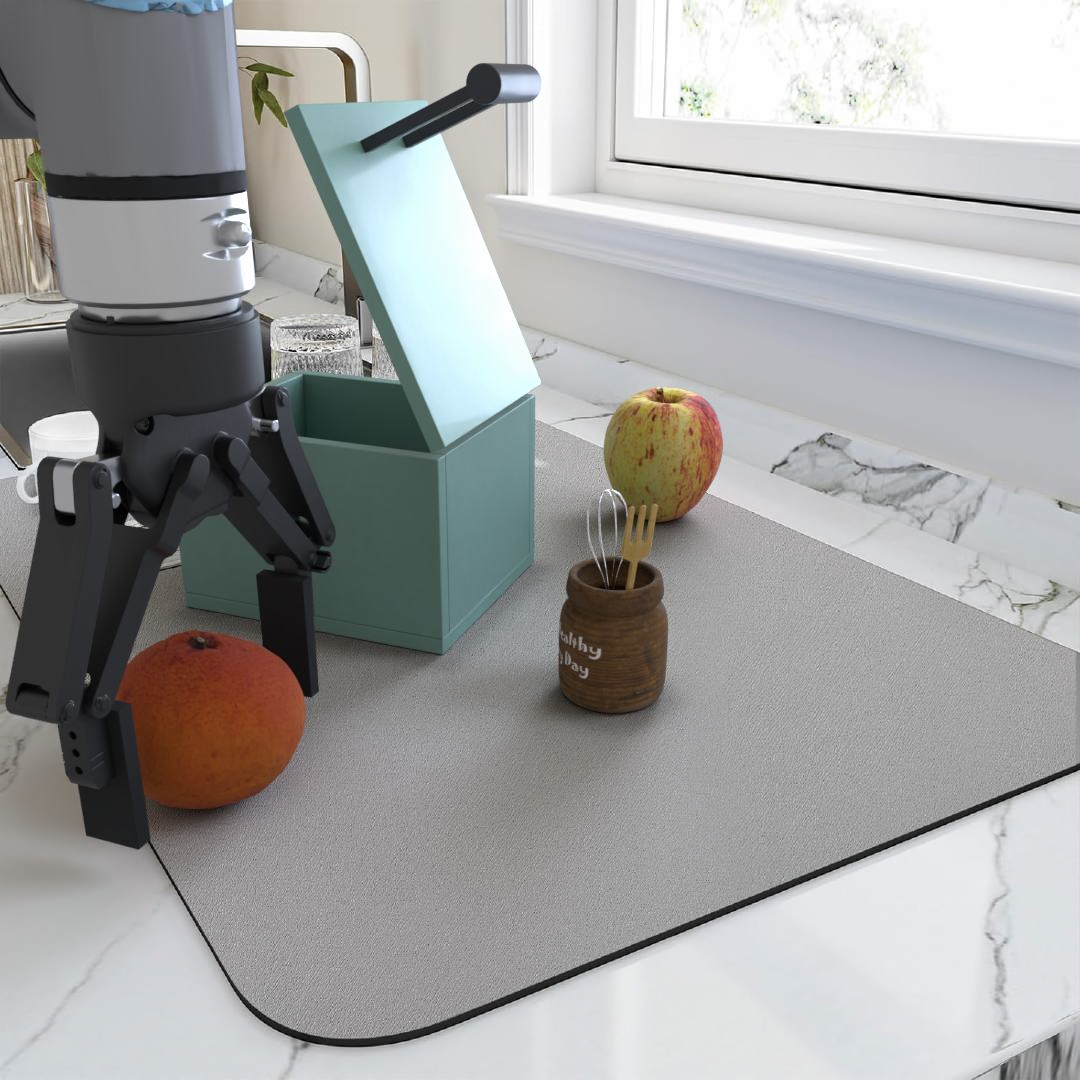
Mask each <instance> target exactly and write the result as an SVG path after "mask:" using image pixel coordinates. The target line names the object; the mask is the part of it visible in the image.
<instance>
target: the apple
mask: <svg viewBox="0 0 1080 1080" xmlns="http://www.w3.org/2000/svg"><path fill="white" fill-rule="evenodd" d="M722 433H723V432H722V427H721V424H720V419H719V417H718V415H717V413H716V411H715V409H714V407H713V406H712V404H711V403H710V402H709V401H708V400H707V399H706V398H704V397H703V396H702V395H699V394H697V393H695V392H693V391H689V390H686V389H682V388H676V387H675V388H674V387H660V386H657V387H650V388H647V389H645V390H641V391H639V392H637V393H635V394H633V395H631V396H630V397H628V398H627V399H625V400H623V401H622V402H621V404H620V405H619V406H618V407H617V408H616V410H615V412H614V413H613V415H612V416H611V418H610V420H609V421H608V425H607V426H606V430H605V433H604V440H603V460H604V461H603V462H604V467H605V470H606V471H605V472H606V475H607V477H608V481H609V483H610V486H611V488H612V490H614V492H615V491H617V492H618V493H620V494H621V495H622V497H623V498H624V500H625V502H626V506H627V510H628V509H629V507H630V506H633V507H634V508H635V511H634V516H637V517H638V516H639V511H640V507H641V506H642V505H645V506H646V513H645V520H646V521H649V517H650V512H651V507H652V505H653V504H657V506H658V508H657V514H656V521H655V523H665V522H669V521H672V520H676V519H678V518H681V517H683V516H684V515H686V514H687V513H688V512H690V511H691V510H692V509H694V507H696V506H697V504H698V503H699V502H700V501H701V500H702V499H703V497H704V496H705V494H706V493H707V491H708V490H709V489H710V487H711V485H712V483H713V482H714V480H715V478H716V475H717V473H718V471H719V468H720V465H721V463H722V462H721V461H722V458H723V449H724V439H723V434H722ZM614 492H613V493H614ZM617 492H616V493H617ZM616 493H614V495H615V497H616V498H617V500H618V501H619V502H620V504H621V505H623V507H625V505H624V502H623V501H624V500H622V499H623V498H622V499H621V498H620V496H621V495H620V494H619V495H620V496H619V495H617V494H618V493H617V494H616Z"/></svg>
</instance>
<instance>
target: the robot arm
mask: <svg viewBox="0 0 1080 1080" xmlns="http://www.w3.org/2000/svg"><path fill="white" fill-rule="evenodd" d="M235 16H236V15H235V0H0V140H32V139H34V140H35V139H38V142H39V148H40V155H41V160H42V166H43V176H44V177H43V178H44V182H45V183H44V184H45V189H46V201H47V202H46V203H47V210H48V215H49V216H48V217H49V224H50V230H51V238H52V245H53V253H54V260H55V267H56V275H57V281H58V290H59V292H60V294H61V297H63V298H64V299H66V300H68V302H70V303H71V304H75V305H77V309H75V310H73V311H72V312H71V313H70V315H69V318H68V319H67V320H65V322H64V323H65V331H66V337H67V344H68V351H69V358H70V363H71V364H70V365H71V372H72V379H73V385H74V391H75V394H76V397H77V399H78V400H79V402H80V403H81V404H82V405H84V406H85V407H86V408H87V409H88V411H90V413H91V414H92V415H93V417H94V418H95V420H96V422H97V425H98V438H97V445H96V448H95V449H96V450H95V454H93V455H88V456H85V457H84V456H83V457H80V458H76V459H75V458H66V457H59V456H50V455H49V456H48V455H47V456H45V457H43V458H42V459H41V460H40V461H39V463H38V465H37V467H36V483H37V485H36V486H37V496H38V499H37V500H38V511H39V513H38V514H39V521H38V527H37V532H36V537H35V542H34V547H33V552H32V556H31V557H32V558H31V563H30V567H29V568H30V569H29V573H28V579H27V584H26V589H25V594H24V599H23V605H22V611H21V616H20V621H19V627H18V631H17V637H16V642H15V647H14V653H13V657H12V663H11V668H10V672H9V673H10V674H9V680H8V683H7V684H8V685H7V689H6V694H5V703H4V704H5V709H6V711H7V712H8V714H10V715H15V716H18V717H23V718H26V719H31V720H34V721H39V722H44V723H48V724H52V725H56V726H57V731H58V737H59V744H60V749H61V753H62V760H63V766H64V771H65V776H66V778H67V779H68V780H69V782H70V783H72V784H76V785H77V790H78V796H79V801H80V807H81V813H82V814H81V815H82V821H83V824H84V826H83V827H84V832H85V836H86V837H89V838H92V839H95V840H100V841H104V842H108V843H112V844H116V845H119V846H122V847H126V848H130V849H133V850H138V851H140V850H141V849H142V848H143V847H144V846H146V845H147V843H148V842H150V841H151V834H150V833H151V832H150V826H149V820H148V819H149V818H148V812H147V811H148V810H147V805H146V798H145V797H146V796H145V795H144V790H143V783H142V776H141V769H140V762H139V755H138V748H137V741H136V734H135V728H134V721H133V714H132V707H131V703H127V702H122V701H118V700H115V698H116V695H117V693H118V690H119V687H120V684H121V681H122V678H123V675H124V672H125V669H126V666H127V665H128V664H129V662H130V661H129V660H130V657H131V655H132V652H133V649H134V646H135V644H136V640H137V637H138V635H139V632H140V629H141V625H142V622H143V621H144V617H145V614H146V612H147V608H148V605H149V603H150V599H151V596H152V594H153V591H154V588H155V585H156V582H157V579H158V577H159V575H160V574H159V573H160V570H161V568H162V565H163V562H164V561H165V560H166V559H167V558H170V557H172V556H174V554H176V553H177V551H178V549H179V544H180V541H181V538H182V535H183V533H186V532H188V531H190V530H192V529H194V528H195V527H197V526H198V525H199V524H200V523H201V522H202V521H203V520H204V519H205V518H206V517H207V516H216V515H219V514H221V513H222V514H223V515H224V516H225V517H226V518H227V519H228V520H229V522H230V523H231V524H232V525H233V526H234V527H235V528H236V529H237V530H238V532H239V533H240V534H241V535H242V536H243V537H244V538H245V539H246V540H247V542H248V543H249V544H250V545H251V546H252V547H253V548H254V549H255V550H256V552H257V553H258V554H259V555H260V556H261V557H262V558H263V559H264V560H265V562H266V563H267V564H269V565H273V566H274V571H273V570H267V569H264V570H262V571H261V572H259V573H258V574H256V581H257V591H258V602H259V613H260V620H259V622H260V623H259V624H260V632H261V644H262V645H261V646H263V647H264V648H266V649H267V650H269V651H270V652H272V653H273V654H275V655H277V656H278V657H280V658H281V659H282V660H283V661H284V662H285V663H286V664H287V665H288V667H289V668H290V669H291V671H292V672H293V674H294V675H295V677H296V679H297V681H298V683H299V685H300V687H301V689H302V692H303V695H304V698H305V697H306V698H310V699H312V698H313V697H314V696H316V695H317V694H318V693H319V692H320V683H319V672H318V671H319V670H318V657H317V656H318V655H317V643H316V631H315V629H314V604H313V602H314V600H313V596H312V595H313V586H312V573H311V572H316V573H322V574H325V573H327V572H328V571H329V569H330V567H331V563H332V555H331V553H330V552H329V551H323V550H320V548H321V547H322V546H324V547H330V546H332V544H333V543H334V540H335V537H336V530H335V527H334V524H333V522H332V519H331V517H330V514H329V512H328V509H327V507H326V505H325V502H324V500H323V497H322V495H321V492H320V490H319V488H318V485H317V483H316V480H315V478H314V475H313V473H312V470H311V468H310V466H309V463H308V461H307V458H306V456H305V453H304V451H303V448H302V446H301V444H300V441H299V439H298V436H297V434H296V431H295V429H294V423H293V416H292V409H291V402H290V396H289V392H288V390H287V388H285V387H282V386H272V385H264V384H265V382H266V376H265V365H264V353H263V343H262V341H263V340H262V330H261V329H262V328H261V318H260V312H259V311H258V310H257V309H255V307H254V305H253V304H252V303H251V302H249V301H247V300H244V299H242V298H243V297H244V296H246V295H248V294H249V293H250V292H251V291H252V290H253V289H254V288H255V286H256V285H257V283H256V273H255V261H254V253H253V252H254V251H253V243H252V241H253V240H252V239H253V238H252V228H251V222H250V212H249V211H250V210H249V202H248V201H249V200H248V192H247V189H248V180H247V171H246V169H247V167H246V166H247V165H246V155H245V139H244V127H243V113H242V112H243V111H242V99H241V87H240V86H241V85H240V71H239V58H238V43H237V28H236V17H235ZM129 515H130V516H131V517H132V518H133V519H134V521H136V523H138V524H139V525H141V526H143V527H140V526H133V525H127V524H126V522H127V519H128V517H129ZM300 516H301V517H304V518H305V519H306V520H307V521H306V520H301V519H300ZM87 675H89V677H90V679H89V683H88V682H86V677H87Z"/></svg>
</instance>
